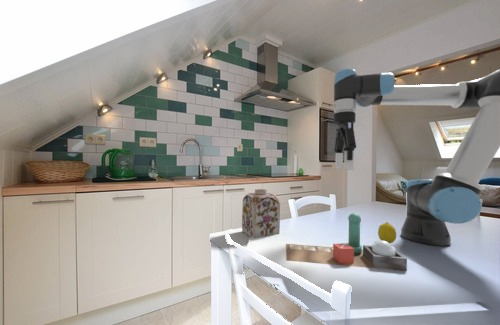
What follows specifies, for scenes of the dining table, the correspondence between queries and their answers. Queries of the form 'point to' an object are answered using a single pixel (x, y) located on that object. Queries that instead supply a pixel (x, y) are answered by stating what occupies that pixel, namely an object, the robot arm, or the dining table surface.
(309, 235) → the dining table surface
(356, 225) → the pawn
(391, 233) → the lemon
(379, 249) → the dome
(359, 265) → the board
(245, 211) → the decorative jar
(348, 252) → the red cube
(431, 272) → the dining table surface
